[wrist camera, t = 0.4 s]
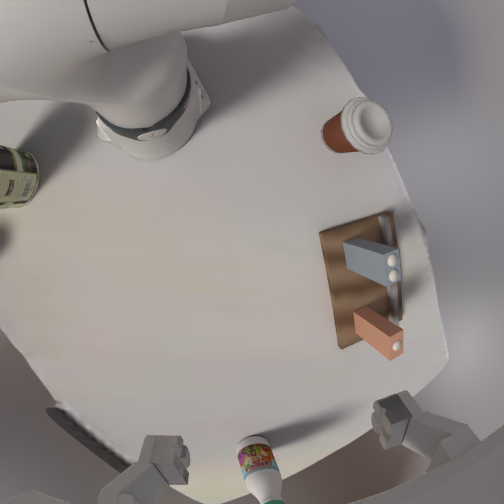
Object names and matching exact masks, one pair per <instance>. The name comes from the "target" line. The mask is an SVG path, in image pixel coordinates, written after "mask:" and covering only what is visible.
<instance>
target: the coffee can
mask: <svg viewBox="0 0 504 504" xmlns="http://www.w3.org/2000/svg"><path fill="white" fill-rule="evenodd" d="M39 176H40V173H39V166H38V163H37V160H36V159H35V157H34V156H33V155H32V154H31V153H29V152H27V151H21V150H17V149H13V148H9V147H5V146H1V145H0V209H7V208H20V207H23V206H25V205H26V204H28V203H29V202H30V201H31V199H32V198H33V197H34V195H35V193H36V190H37V188H38V184H39Z"/></svg>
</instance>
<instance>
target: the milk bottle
mask: <svg viewBox="0 0 504 504" xmlns="http://www.w3.org/2000/svg"><path fill="white" fill-rule="evenodd" d="M236 451H237V455H238V459H239V463H240V467H241V470H242V474H243V477H244V480H245V483H246V486H247V488H248V489H249V491H250V492H251V493H252V494H253V495H254V496H255V497H256V498H257V499H258V500H259V501H260V503H261V504H284V502H283V499H281V497H280V490H281V486H282V478H281V474H280V471H279V468H278V466H277V463H276V461H275V458H274V456H273V453H272V450H271V448H270V445H269V443H268V441H267V440H266V439H265V438H263V437H260V436H251V437H247V438H245V439H243V440H241V441H240V442H239V443H238V445H237V447H236Z"/></svg>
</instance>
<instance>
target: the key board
mask: <svg viewBox="0 0 504 504" xmlns="http://www.w3.org/2000/svg"><path fill="white" fill-rule="evenodd" d="M319 236H320V241H321V246H322V251H323V256H324V261H325V267H326V272H327V278H328V283H329V289H330V295H331V301H332V307H333V313H334V319H335V326H336V333H337V340H338V346H339V347H340V348H341V349H344V348H346V347H348V346H350V345H353V344H355V343H357V342H359V341H361V340H363V338H361V337H360V336H359V335H358V334H356V332H355V323H354V314H353V311H356V310H358V309H360V308H363V307H365V306H366V307H368V308H370V309H371V310H373V311H375V312H376V313H378V314H379V315H381V316H383V317H384V318H386V319H387V320H389V321H391V322H392V323H394V324H395V325H397V326H398V327H399V321H401V320H402V297H401V281H398V282H396V283H394V284H392V285H390V286H387V287H386V286H384V285H382V284H379V283H377V282H375V281H373V280H371V279H369V278H367V277H364V276H362V275H360V274H358V273H356V272H354V271H352V270H349V269H347V265H346V259H345V253H344V247H343V242H344V241H347V240H350V239H353V238H360V239H364V240H368V241H372V242H376V243H379V244H383V245H387V246H390V247H394V248H397V240H396V232H395V225H394V218H393V212H389V211H388V212H384V213H381V214H378V215H375V216H371V217H368V218H365V219H362V220H358V221H355V222H352V223H349V224H345V225H342V226H339V227H336V228H332V229H329V230H326V231H323V232H319Z"/></svg>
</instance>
